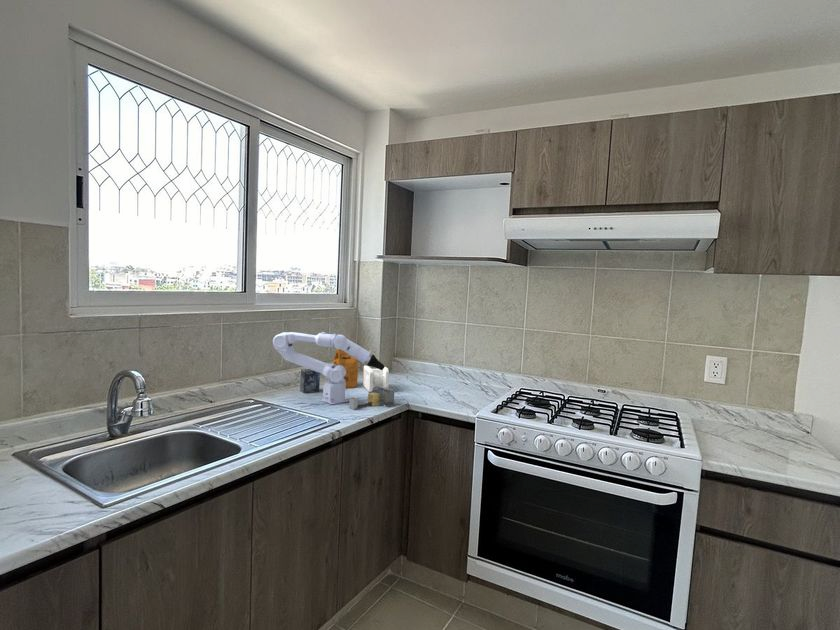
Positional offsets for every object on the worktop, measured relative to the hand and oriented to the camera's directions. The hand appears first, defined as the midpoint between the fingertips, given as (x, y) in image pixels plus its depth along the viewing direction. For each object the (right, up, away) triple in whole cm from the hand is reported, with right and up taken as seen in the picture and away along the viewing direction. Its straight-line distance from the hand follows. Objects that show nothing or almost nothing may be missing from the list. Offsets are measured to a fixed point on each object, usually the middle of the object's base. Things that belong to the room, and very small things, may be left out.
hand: (383, 367), depth 201 cm
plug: (-8, -16, -6) cm, 19 cm away
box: (-37, -13, +15) cm, 42 cm away
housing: (0, -16, +1) cm, 16 cm away
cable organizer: (-6, -14, +25) cm, 30 cm away
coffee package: (-22, -13, +29) cm, 39 cm away
